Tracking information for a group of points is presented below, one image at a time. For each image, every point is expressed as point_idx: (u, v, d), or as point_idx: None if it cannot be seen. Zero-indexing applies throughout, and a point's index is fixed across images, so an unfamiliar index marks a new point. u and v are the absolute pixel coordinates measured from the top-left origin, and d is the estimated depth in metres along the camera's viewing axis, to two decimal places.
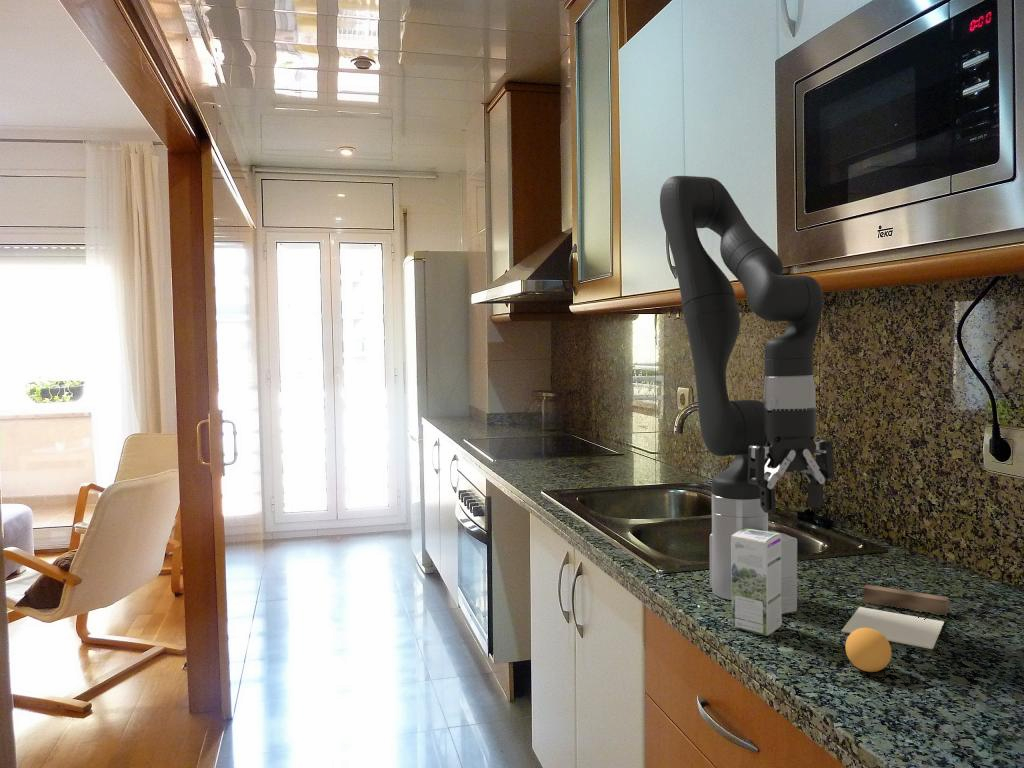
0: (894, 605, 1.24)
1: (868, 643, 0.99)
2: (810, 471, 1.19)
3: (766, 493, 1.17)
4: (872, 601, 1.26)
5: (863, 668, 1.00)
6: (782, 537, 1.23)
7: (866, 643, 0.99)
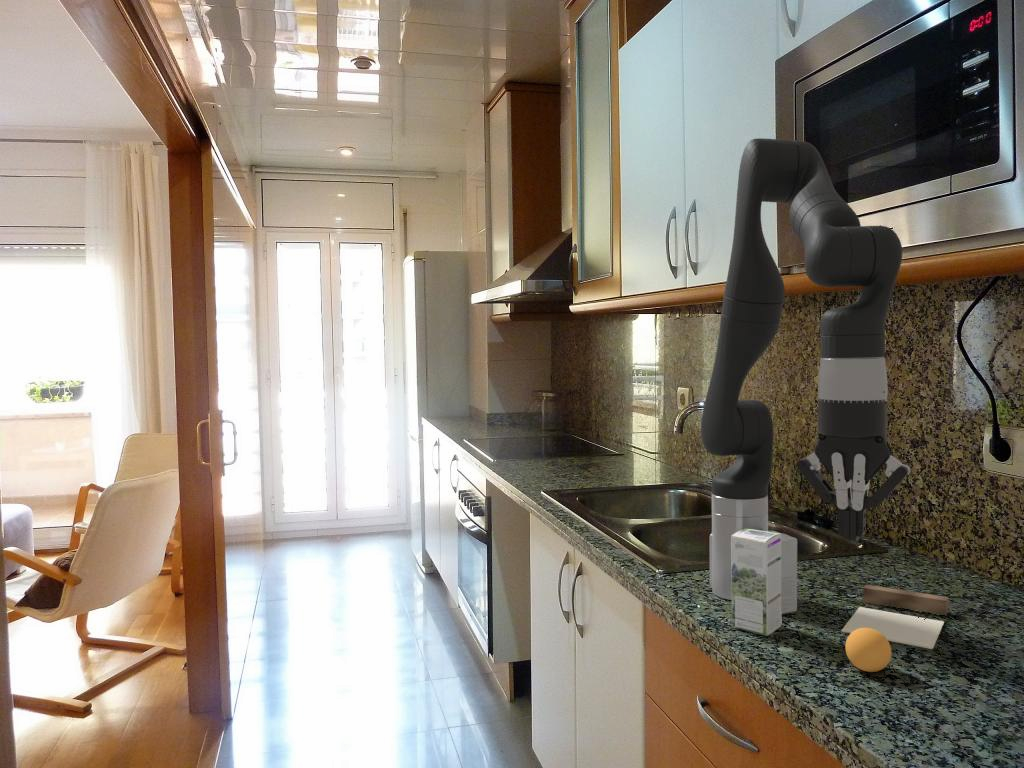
0: (894, 605, 1.24)
1: (868, 643, 0.99)
2: (850, 482, 0.93)
3: (865, 513, 0.92)
4: (872, 601, 1.26)
5: (863, 668, 1.00)
6: (782, 537, 1.23)
7: (866, 643, 0.99)
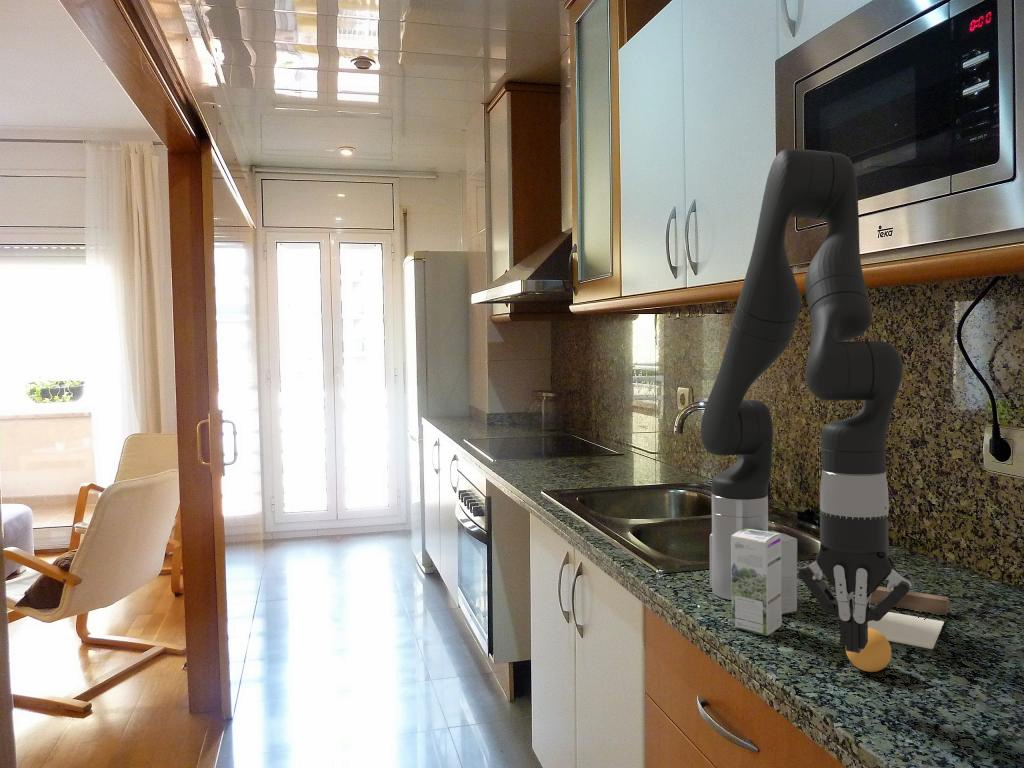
0: None
1: (868, 643, 0.99)
2: (852, 592, 0.94)
3: (867, 625, 0.93)
4: (872, 601, 1.26)
5: (863, 668, 1.00)
6: (782, 537, 1.23)
7: None
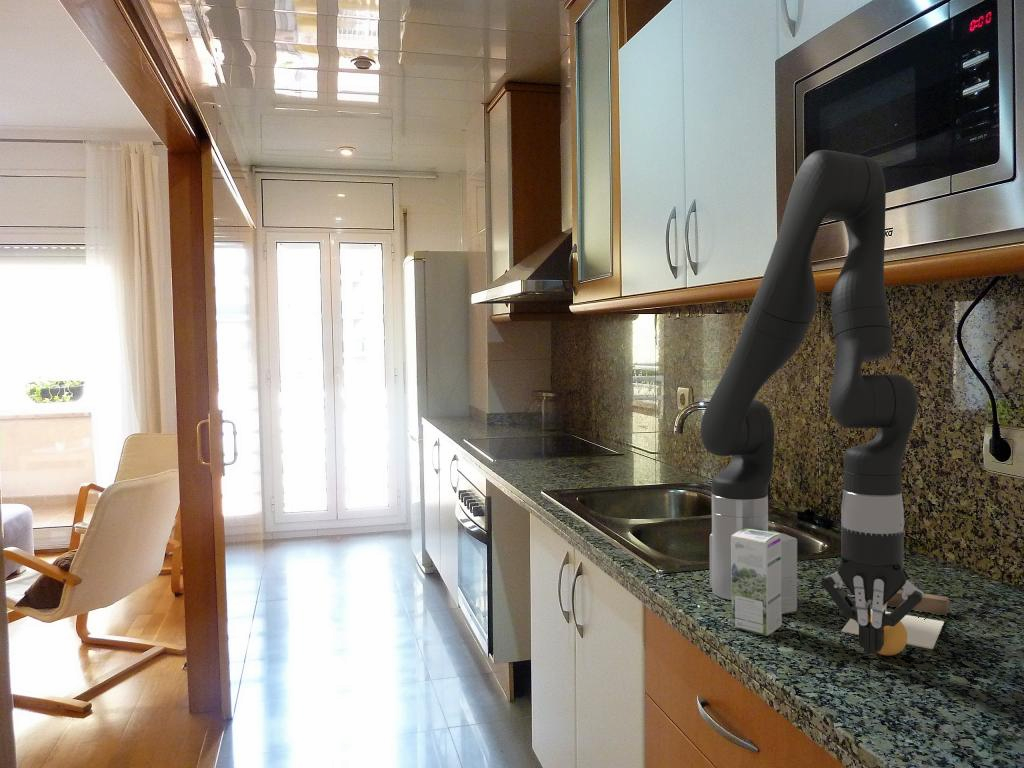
0: (894, 605, 1.24)
1: None
2: (869, 600, 1.04)
3: (883, 629, 1.03)
4: (872, 601, 1.26)
5: None
6: (782, 537, 1.23)
7: None
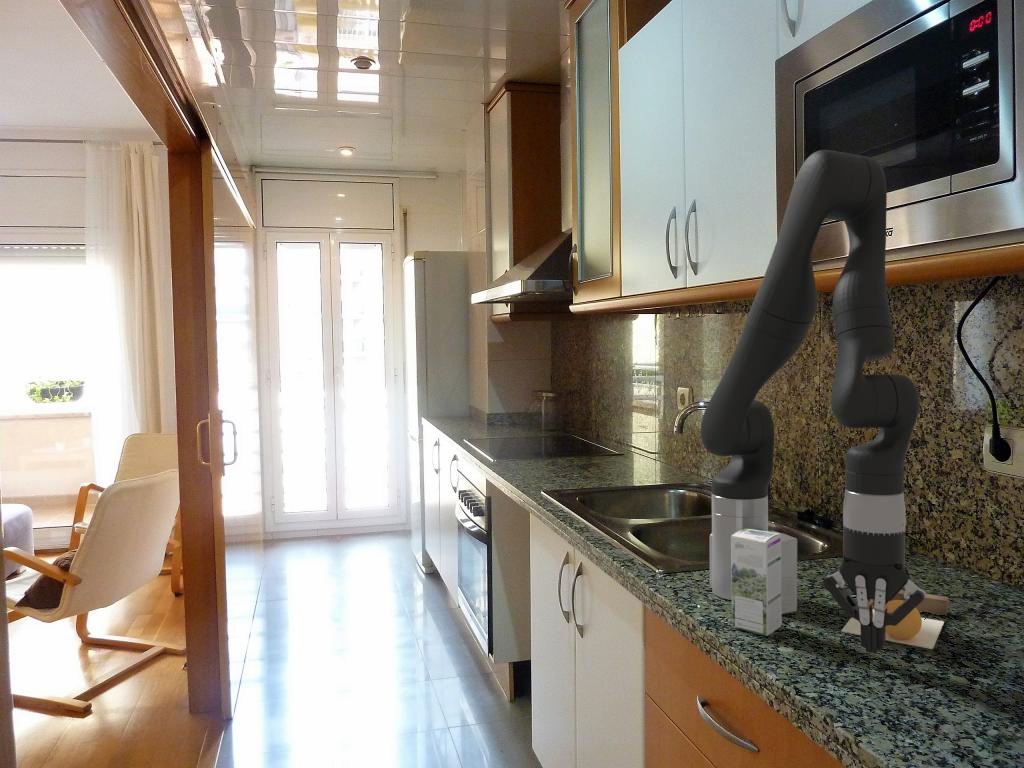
0: None
1: (903, 638, 1.10)
2: (871, 599, 1.04)
3: (885, 628, 1.03)
4: None
5: None
6: (782, 537, 1.23)
7: (901, 638, 1.10)
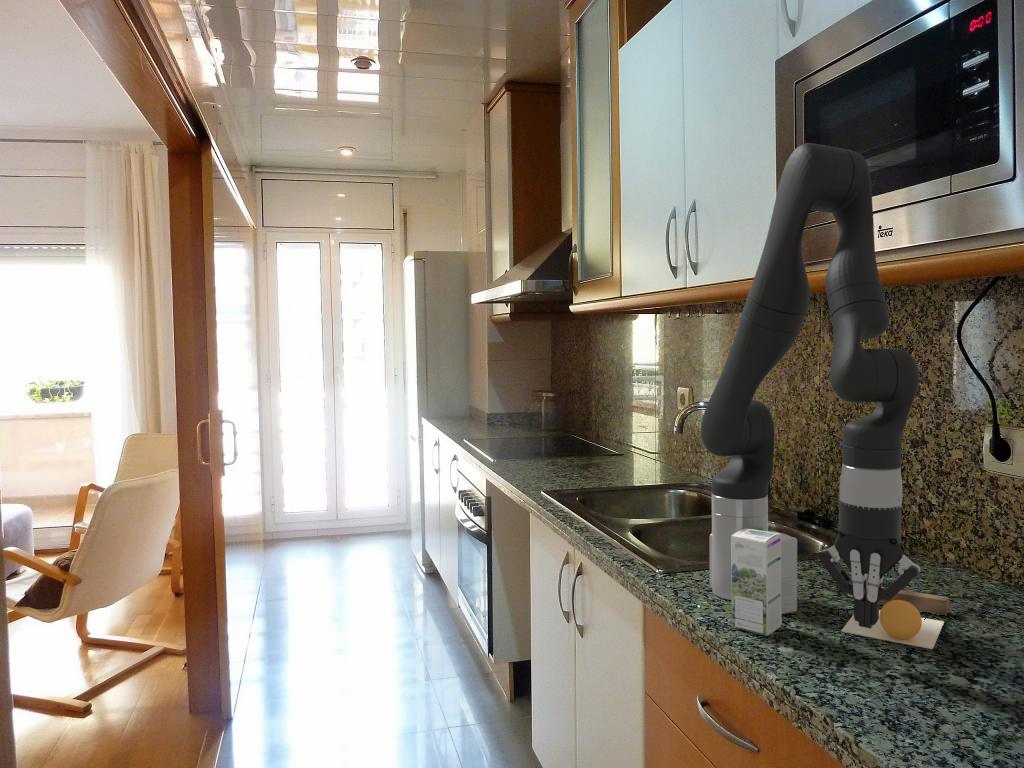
0: None
1: (903, 638, 1.10)
2: (866, 574, 1.04)
3: None
4: None
5: None
6: (782, 537, 1.23)
7: (901, 638, 1.10)
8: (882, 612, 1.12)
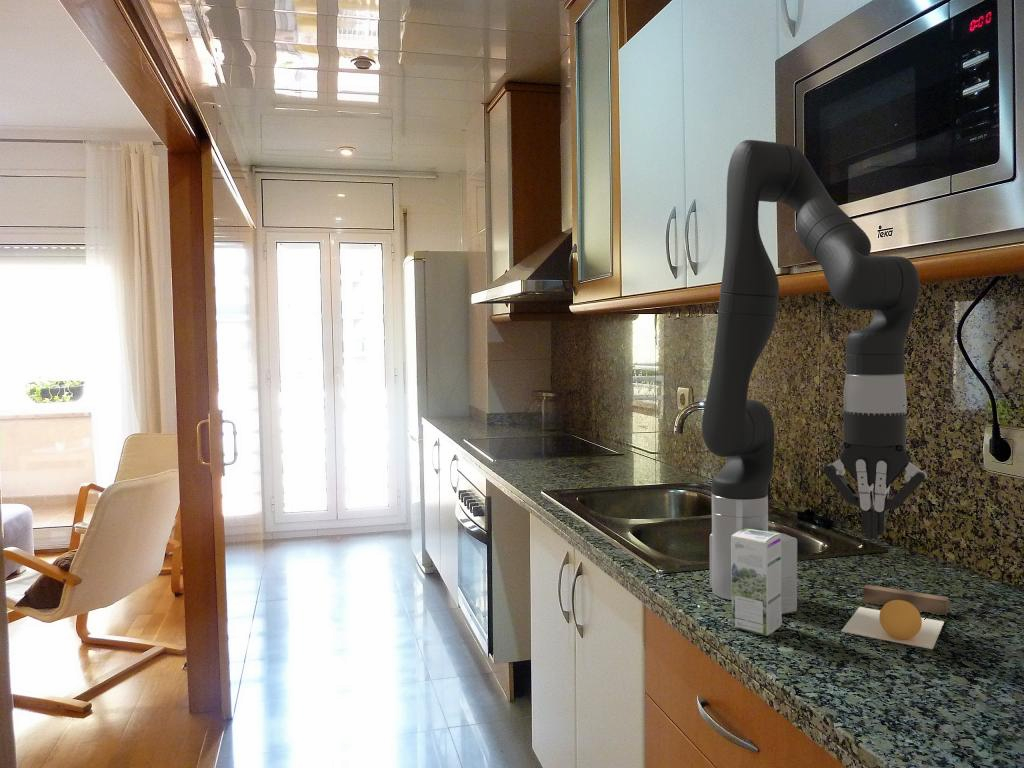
0: None
1: (903, 638, 1.10)
2: (872, 486, 1.04)
3: None
4: (872, 601, 1.26)
5: None
6: (782, 537, 1.23)
7: (901, 638, 1.10)
8: (882, 612, 1.12)
